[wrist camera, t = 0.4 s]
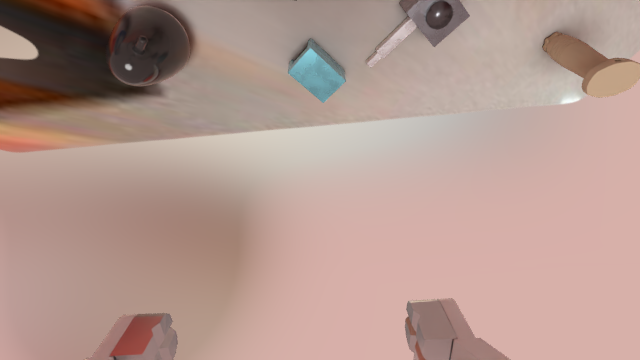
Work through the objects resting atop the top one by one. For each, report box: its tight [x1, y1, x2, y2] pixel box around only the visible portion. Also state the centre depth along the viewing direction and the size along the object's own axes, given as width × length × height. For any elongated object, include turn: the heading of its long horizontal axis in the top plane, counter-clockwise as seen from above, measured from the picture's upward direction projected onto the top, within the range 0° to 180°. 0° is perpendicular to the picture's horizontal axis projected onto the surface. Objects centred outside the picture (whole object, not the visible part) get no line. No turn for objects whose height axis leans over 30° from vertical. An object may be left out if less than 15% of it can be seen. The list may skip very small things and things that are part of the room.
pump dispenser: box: [106, 5, 190, 86], centre depth 47 cm, size 10×10×15 cm
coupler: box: [366, 0, 470, 68], centre depth 50 cm, size 16×7×6 cm, turn 137°
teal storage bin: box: [288, 39, 346, 103], centre depth 55 cm, size 8×6×4 cm
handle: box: [543, 32, 640, 98], centre depth 48 cm, size 5×6×15 cm
